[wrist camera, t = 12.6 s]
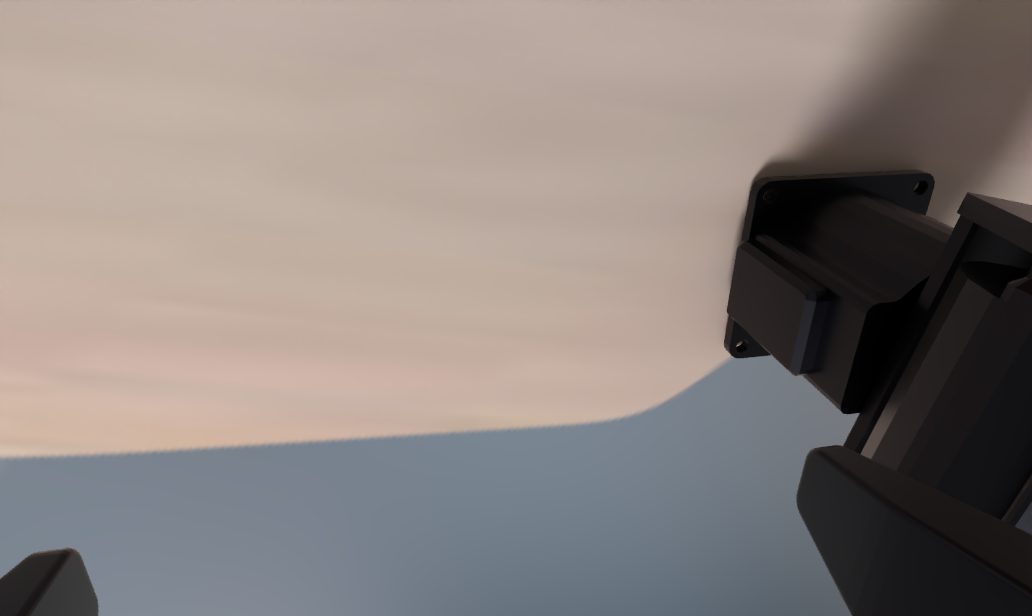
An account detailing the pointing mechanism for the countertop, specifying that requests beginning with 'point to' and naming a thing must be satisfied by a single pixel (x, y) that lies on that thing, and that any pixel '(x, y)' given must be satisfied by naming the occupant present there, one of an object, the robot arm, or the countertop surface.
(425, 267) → the countertop surface
